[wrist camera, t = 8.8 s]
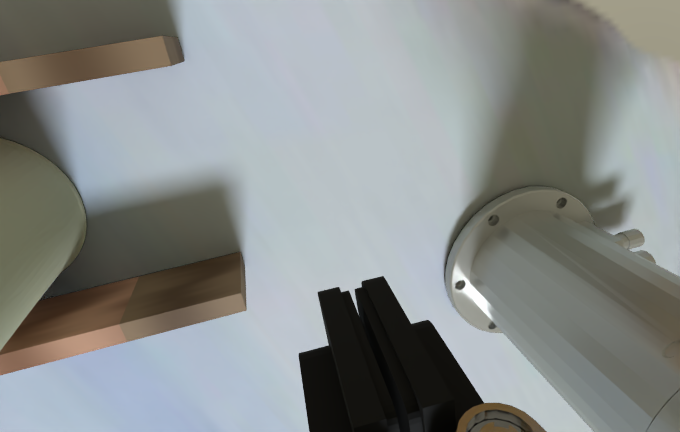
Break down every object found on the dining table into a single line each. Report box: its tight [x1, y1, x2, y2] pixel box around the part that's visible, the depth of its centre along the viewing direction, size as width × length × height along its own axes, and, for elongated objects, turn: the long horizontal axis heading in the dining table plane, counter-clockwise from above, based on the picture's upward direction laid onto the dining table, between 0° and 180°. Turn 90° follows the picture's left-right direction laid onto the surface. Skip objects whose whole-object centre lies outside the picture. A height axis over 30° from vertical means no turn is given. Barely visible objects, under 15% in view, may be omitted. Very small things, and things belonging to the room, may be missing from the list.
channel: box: [0, 36, 246, 375], centre depth 21 cm, size 16×14×5 cm
